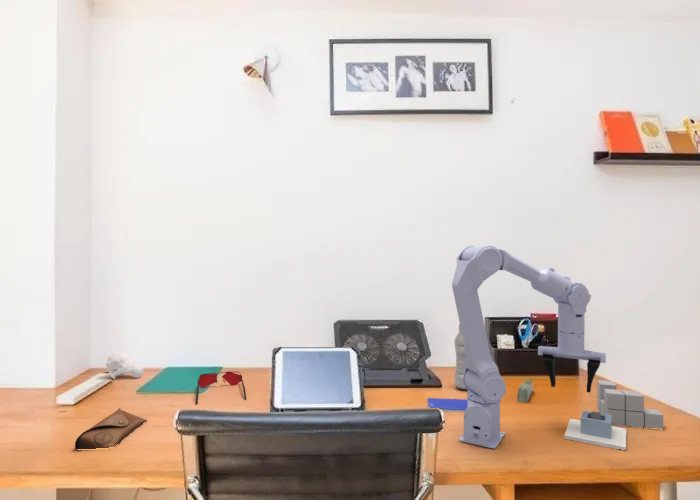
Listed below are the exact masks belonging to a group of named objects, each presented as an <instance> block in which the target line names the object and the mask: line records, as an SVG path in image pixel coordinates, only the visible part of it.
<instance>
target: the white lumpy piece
mask: <svg viewBox="0 0 700 500" xmlns="http://www.w3.org/2000/svg"><path fill="white" fill-rule="evenodd" d="M105 365H106V369H107V371H108V375H109V374H110V375H112V377H113V379H114V380H116V377H117V376H118V377H122V376H124V375H128V374H131V375H132V376H131V377H132V378H134V379H139V378H140V377H141V375H143V374H144V370H145V368H144V366H143V365H141V364H139V363H136V362H135V361H134V359H132V358H131V356H129V355H127V353H125V352H122V351H115V352H112V353H111V354H110V355H109V356H108V357H107V361H106V363H105ZM110 375H109V376H110Z"/></svg>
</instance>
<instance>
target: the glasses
mask: <svg viewBox="0 0 700 500" xmlns="http://www.w3.org/2000/svg"><path fill="white" fill-rule="evenodd" d="M219 374H223V375H222V376H221V378H222V381H223V383H226V382H227V383H228V384H229V385H230V386H236V385H238V384H239V383H241V386H242V389H243V390H242V391H243V396H244V397H243V398H244V401H247V395H246V394H247V392H246V388H245V384H244V380H243V375H242V373H241V372H239V371H237V373H236V372H233V371H223V372H219ZM217 383H218V373H217V372H209V373H202V374H200V375H199V377H198V379H197V385H196V386H197V387H196V398H195V405H198V403H199V393H200V389H199V388H201V389H203V388H206V387H208V386H210V385H213V384H217Z"/></svg>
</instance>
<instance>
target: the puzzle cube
mask: <svg viewBox="0 0 700 500" xmlns="http://www.w3.org/2000/svg"><path fill="white" fill-rule="evenodd" d="M596 384H597V385H596V388H597V389H596V394H597V395H596V396H597V397H596V398H597V400H596V401H597V404H596V408H597V410H598V412H599V413H601V414H607V415H612V426H619V425H620V426H621V427H628V426H633V427H632V428H637V427H645V428H644V429H646V427H647V428H659V429H660V428H661V429H663V430H664V414H663V413H662V412H661V411H659V409H657V408H655V409H653V408H646V407H645V400H644V399H645V398H644V397H645V396H644V395H643V394H642V393H641V392H640V391H637V390H636V391H634V390H625V389H624V390H621V389H617V388H618V387H617V384H616V383H615V382H614V381H612V380H600V379H598V380H596ZM620 426H619V427H620Z"/></svg>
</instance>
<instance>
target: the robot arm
mask: <svg viewBox="0 0 700 500" xmlns="http://www.w3.org/2000/svg"><path fill="white" fill-rule="evenodd" d="M455 260H456V266H455V270H454V274H453V278H452V280H451V281H452V282H451V288H452V293H453V297H454V303H455V307H456V311H457V312H456V313H457V316H458V321H459V324H460V327H461V332H462V336H463V341H464V346H465V351H466V356H467V359H466V360H465V361H464V363H463V365H464V374H463V383H464V385H465V387H466V388H467V389H466V390H467V395H466V396H467V398H466V400H467V409H466V410H465V412H463V434H462V435H461V436H460V437H459V442H463V443H467V444H471V445H472V444H473V445H477V446H479V447H480V446H481V447H485V448H488V449H489V448H490V449H495V450H496V449H497V447H498V445H500V443H501V441H502V439H503V438H504V437H505V435H506V433H505V432H504V431H501V401H502V400H501V399H503V398H504V396H505V394H506V391H507V384H506V381H505V380H504V378H503V377H502V376H501V374H500V371H499V370H500V369H499V367H498V365H497V363H496V362H495V360H494V359H493V357H492V355H491V352H490V346H489V341H488V335H487V331H486V326H485V321H484V316H483V311H482V307H481V306H482V305H481V302H480V297H479V292H478V290H479V288H480V287H481V285H482V284H483V283H484V282H485V281H486V280H487V279H489V278H490V277H491V276H493V275H495V274H496V273H497V272H498V271H506V272H508V273H511V274H512V275H515V276H517V277H519V278H522V279H523V280H526V281H528V282H530V285H531V288H532V289H533V290H534V291H537V292H539V293H541V294H543V295H545V296H547V297H549V298H551V299H553V300H554V302H555V303H556V304H557V306H558V307H557V346H544V345H539V346H538V347H537V355H538V356H542V358H541V360H542V363H543V364H544V366H545V368H546V371H547V373H548V376H549V377H548V378H549V380H550V385H551V386H550V387H552V388H555V387H556V384H557V381H556V380H557V379H556V362H557V361H556V358H565V359H575V360H581V361H587V363H586V367H587V368H586V370H587V371H586V372H587V381H586V382H587V383H586V393H591V391H592V384H593V381H594V378H595V376H596V373H597V371H598V370H599V368H600V366H601V363H602V364H606V362H607V354H606V353H605V352H600V351H599V352H597V351H592V350H586V349H585V314H586V312H587V306H588V305H589V303H590V301H591V298H592V295H591V294H590V293H589V290H588V288H587V287H586V285H584V284H583V283H581V282H580V283H579V282H572V280H571V278H570V277H568V276H563V275H560V274H559V273H557V272H555V271H556V270H555V268H552V267H541V268H538V269H537V268H535V266H534V267H533V266H532V265H530V264H528V263H527V262H525V261H523V260H521V259H519V258H518V257H516V256H515V255H512V254H511V253H509V252H507V251H506V250H504V249H500V248H497V247H496V246H495V245H485V246H483V245H481V246H475V245H469V246H466V247H464V248H463V250H461V252H460V253H459V254H458V256H457V257H456V258H455Z"/></svg>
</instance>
